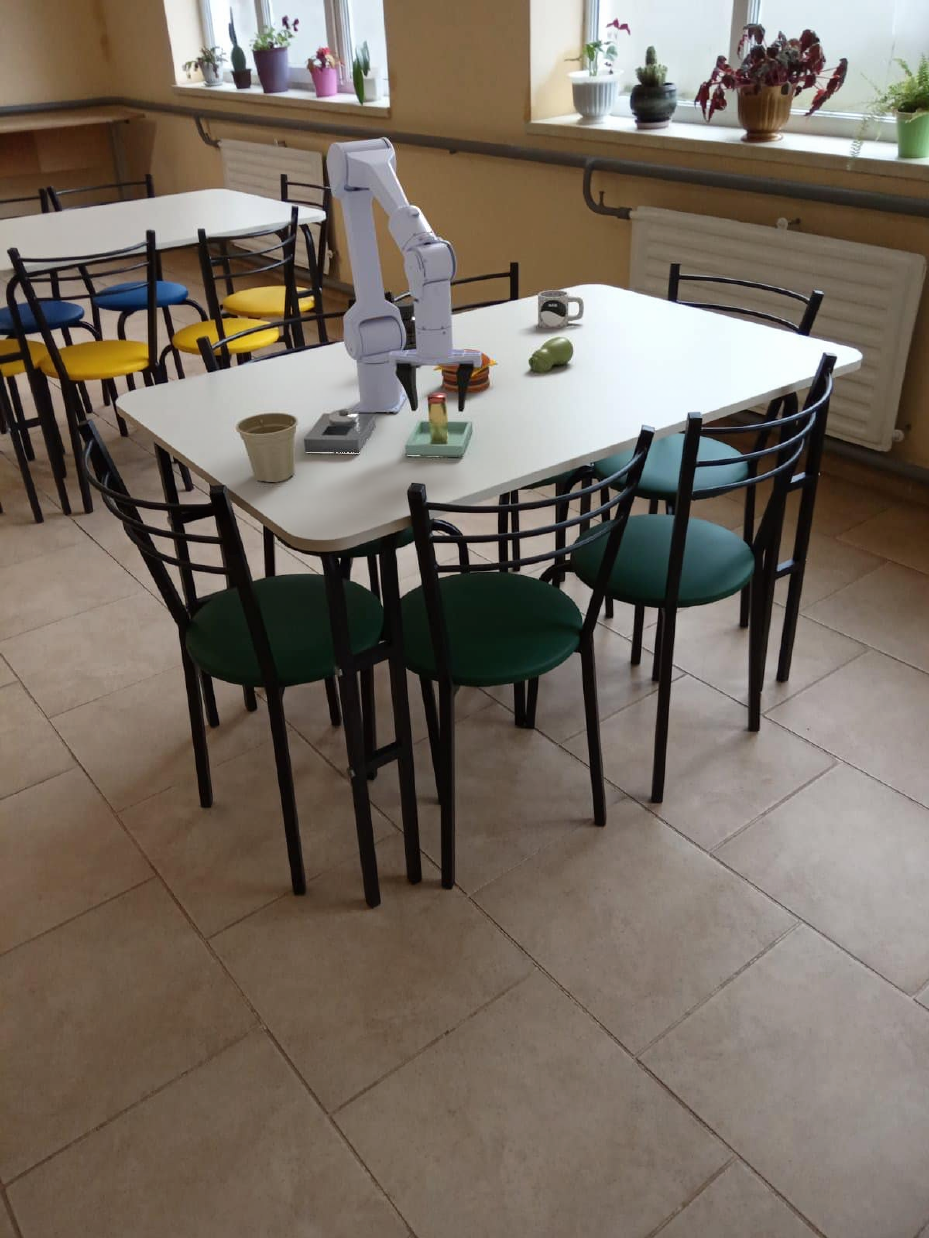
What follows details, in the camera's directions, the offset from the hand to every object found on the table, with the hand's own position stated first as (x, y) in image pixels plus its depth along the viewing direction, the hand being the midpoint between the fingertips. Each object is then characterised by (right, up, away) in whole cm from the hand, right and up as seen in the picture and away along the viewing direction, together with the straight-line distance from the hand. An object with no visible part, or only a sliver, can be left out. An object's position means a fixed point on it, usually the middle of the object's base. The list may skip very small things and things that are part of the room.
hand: (438, 409), depth 166 cm
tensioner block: (-16, -4, +6) cm, 18 cm away
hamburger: (+5, +10, +29) cm, 31 cm away
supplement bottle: (-7, +17, +41) cm, 46 cm away
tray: (0, -5, +3) cm, 6 cm away
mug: (+26, +31, +62) cm, 74 cm away
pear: (+21, +15, +36) cm, 45 cm away
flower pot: (-25, -12, -5) cm, 29 cm away
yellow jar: (0, -5, +3) cm, 6 cm away
